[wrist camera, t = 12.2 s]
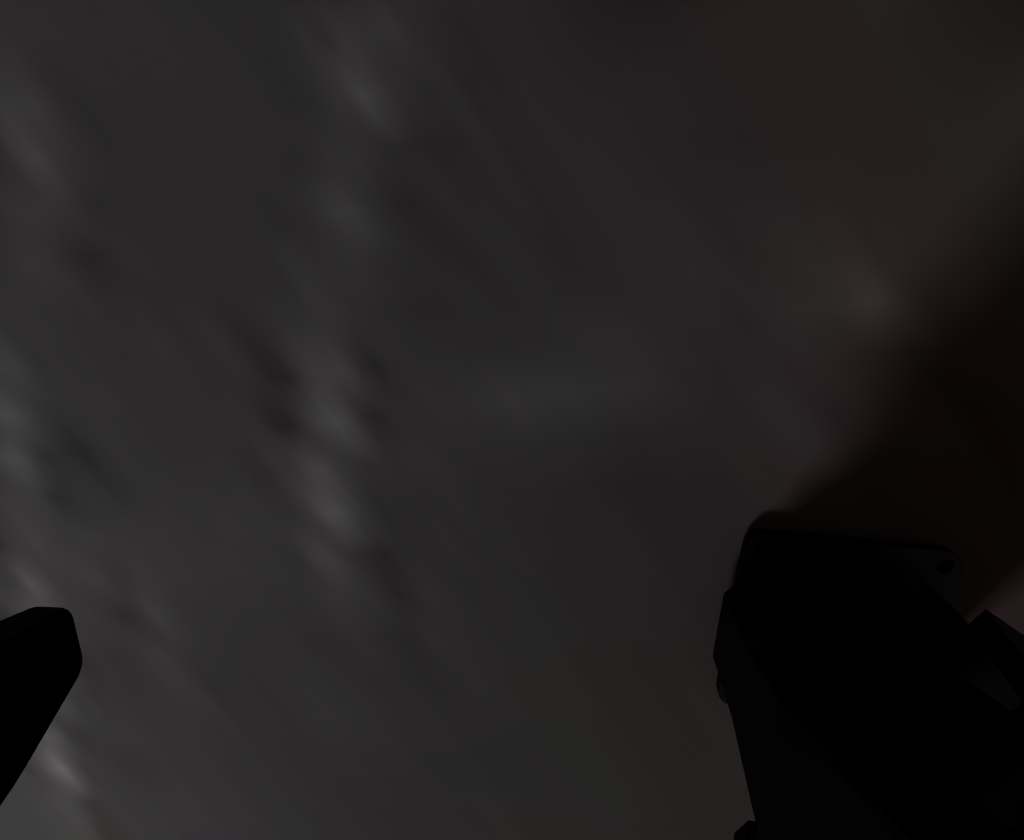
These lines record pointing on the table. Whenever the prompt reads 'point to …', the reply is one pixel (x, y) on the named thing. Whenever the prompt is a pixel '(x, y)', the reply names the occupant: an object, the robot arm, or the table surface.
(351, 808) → the table surface
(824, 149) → the table surface
